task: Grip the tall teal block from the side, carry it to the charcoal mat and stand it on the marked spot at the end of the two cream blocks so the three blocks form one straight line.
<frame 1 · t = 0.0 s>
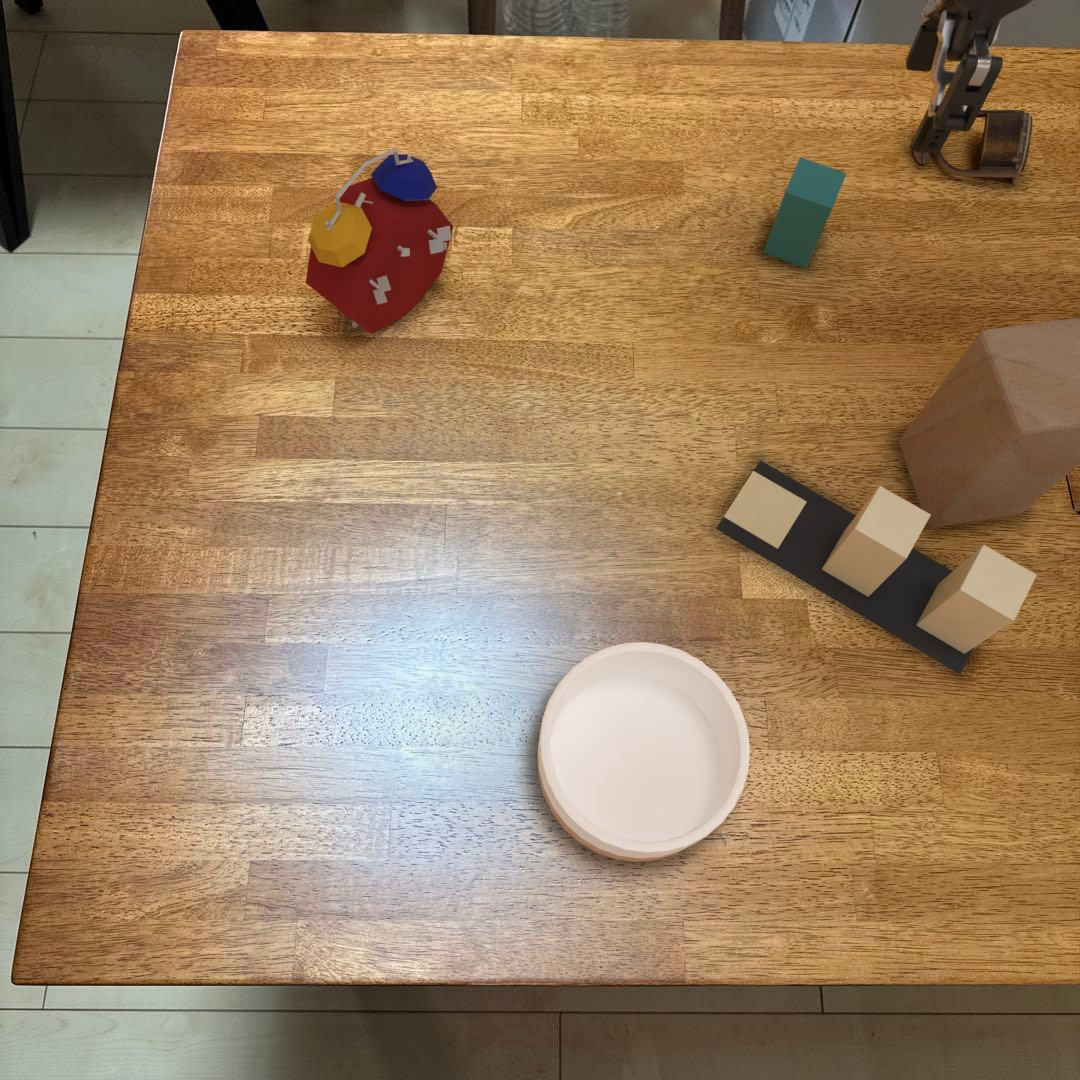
hand: (920, 107, 81), 30 cm above the table, tool pointing down, fingers open, 8 cm apart
teal block: (790, 246, 113), on the table
bowl: (633, 761, 90), on the table
wooden block: (957, 478, 102), on the table
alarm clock: (396, 306, 108), on the table
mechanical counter: (965, 159, 118), on the table
cream block A: (951, 618, 96), resting on mat
mat: (854, 564, 98), on the table
cream block B: (856, 562, 98), resting on mat
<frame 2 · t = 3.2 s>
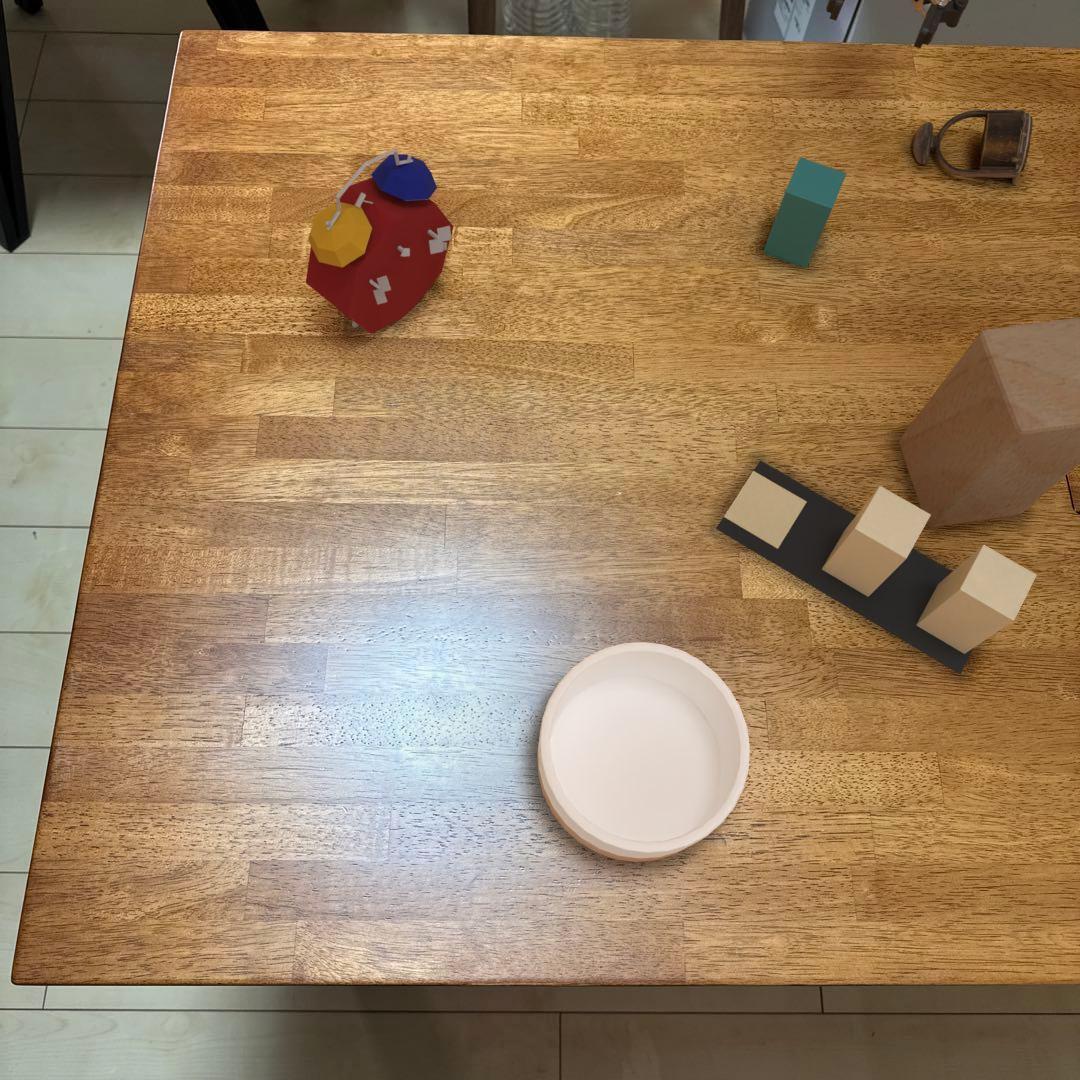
hand: (877, 26, 98), 20 cm above the table, tool horizontal, fingers open, 8 cm apart
nothing on the table moved.
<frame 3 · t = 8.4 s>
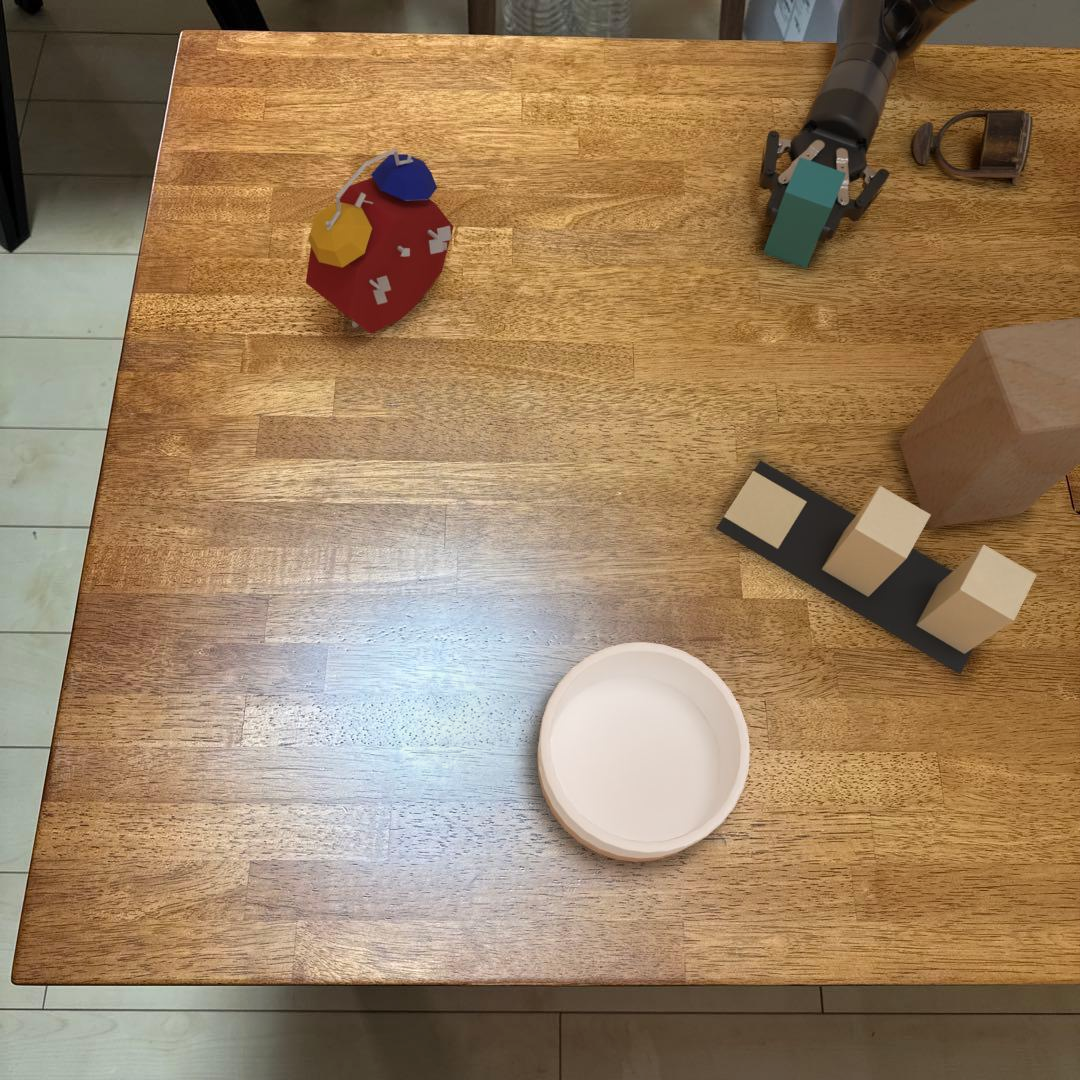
hand: (797, 227, 106), 6 cm above the table, tool horizontal, fingers closed on teal block, 5 cm apart
teal block: (790, 246, 113), on the table, touching gripper
everything else where it was.
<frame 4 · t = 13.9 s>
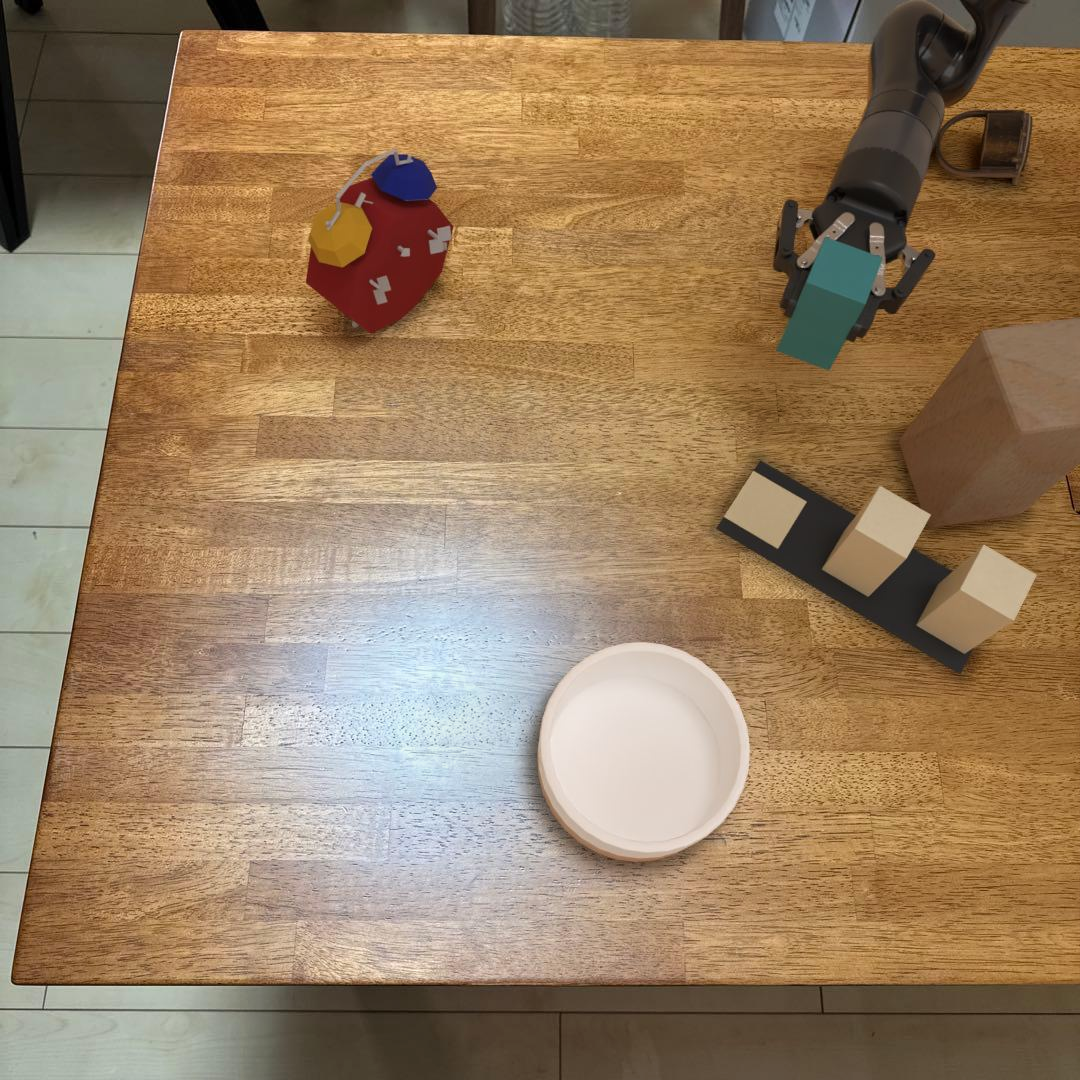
hand: (821, 323, 85), 20 cm above the table, tool horizontal, fingers closed on teal block, 5 cm apart
teal block: (810, 339, 91), point 14 cm above the table, touching gripper
everything else where it was.
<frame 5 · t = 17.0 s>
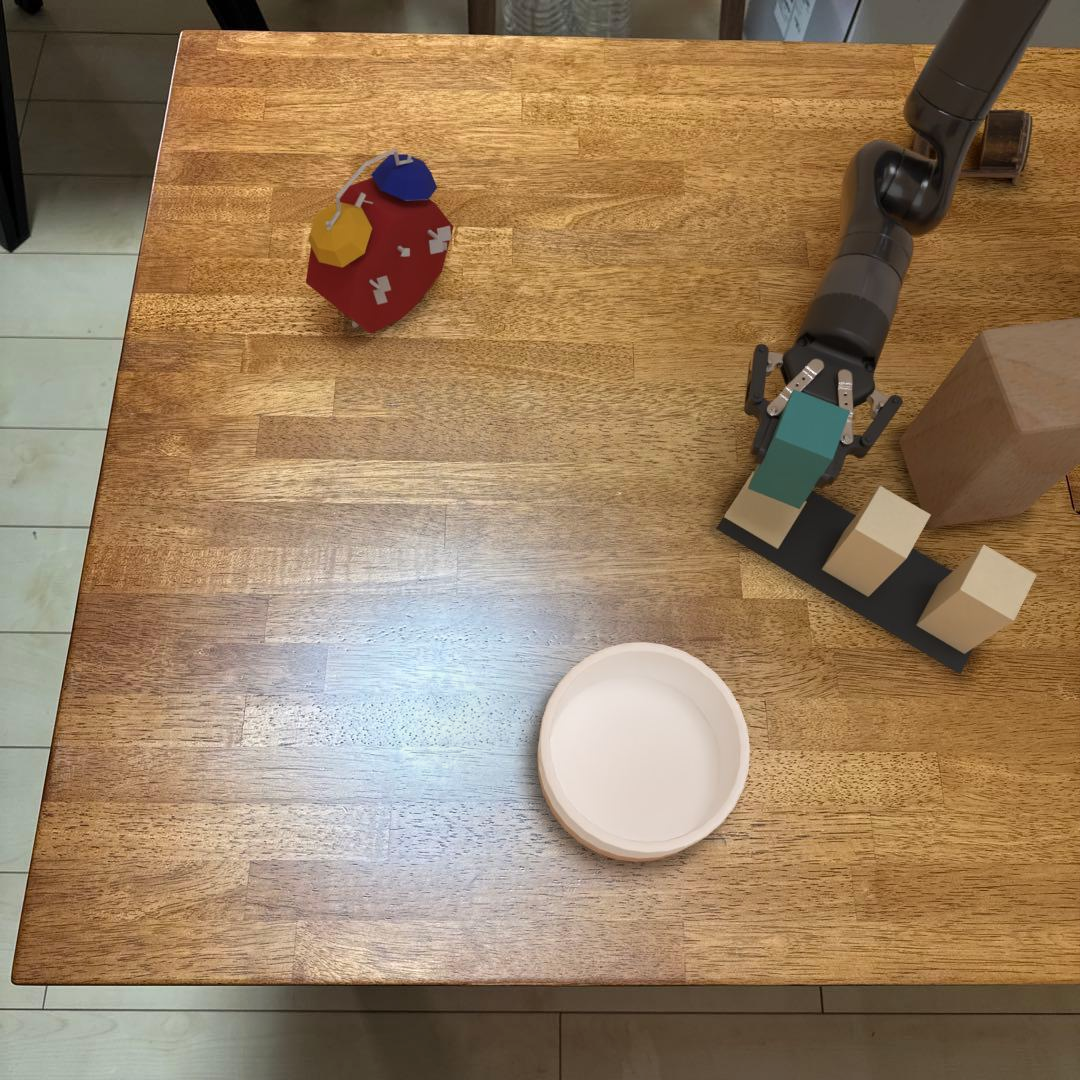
hand: (790, 471, 87), 14 cm above the table, tool horizontal, fingers closed on teal block, 5 cm apart
teal block: (782, 476, 93), point 8 cm above the table, touching gripper
everything else where it was.
when the fingers open (7 cm above the table, at t = 19.4 s): teal block stays where it is, resting on mat.
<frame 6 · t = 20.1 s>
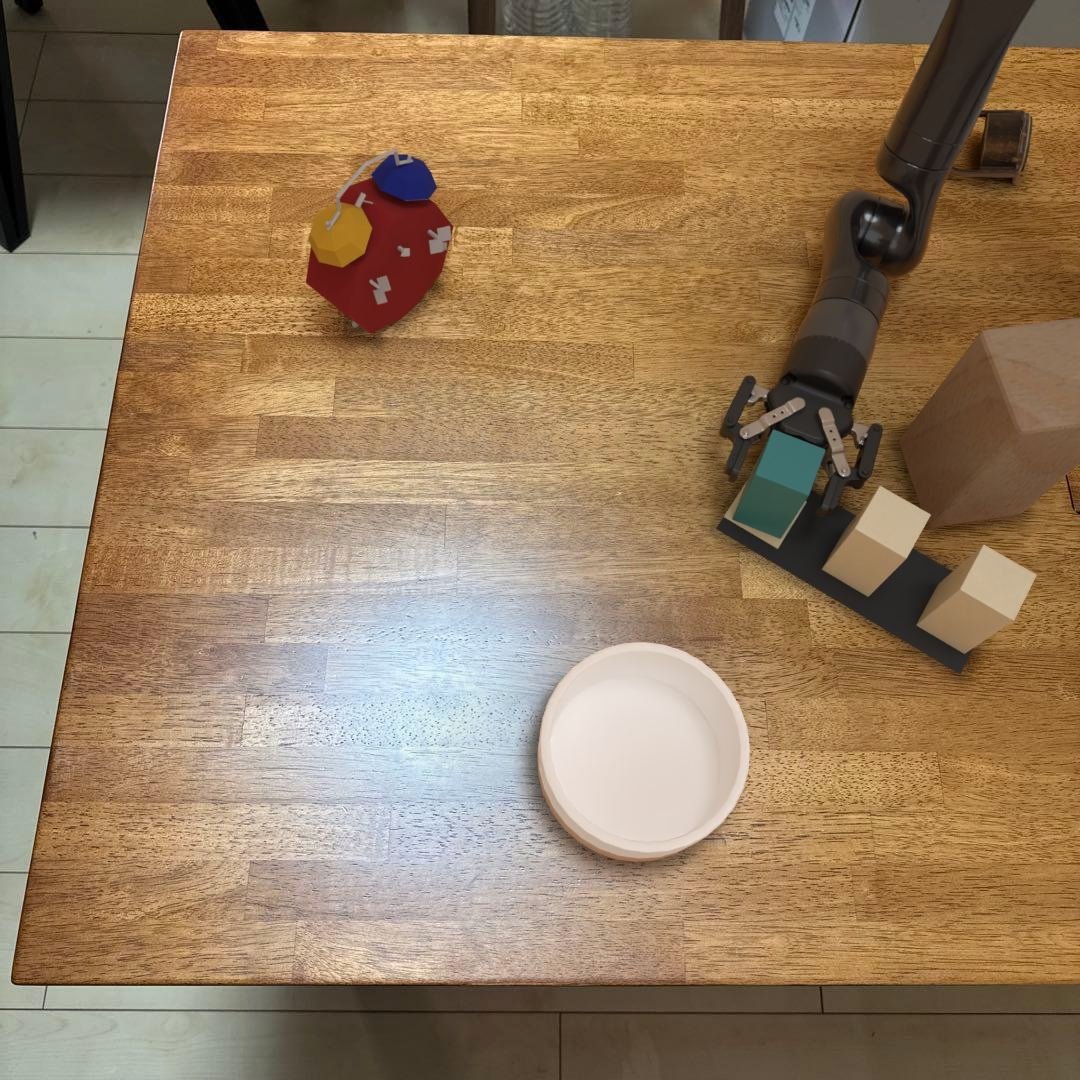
hand: (776, 496, 93), 7 cm above the table, tool horizontal, fingers open, 8 cm apart
teal block: (764, 508, 100), point 1 cm above the table, touching mat
everything else where it was.
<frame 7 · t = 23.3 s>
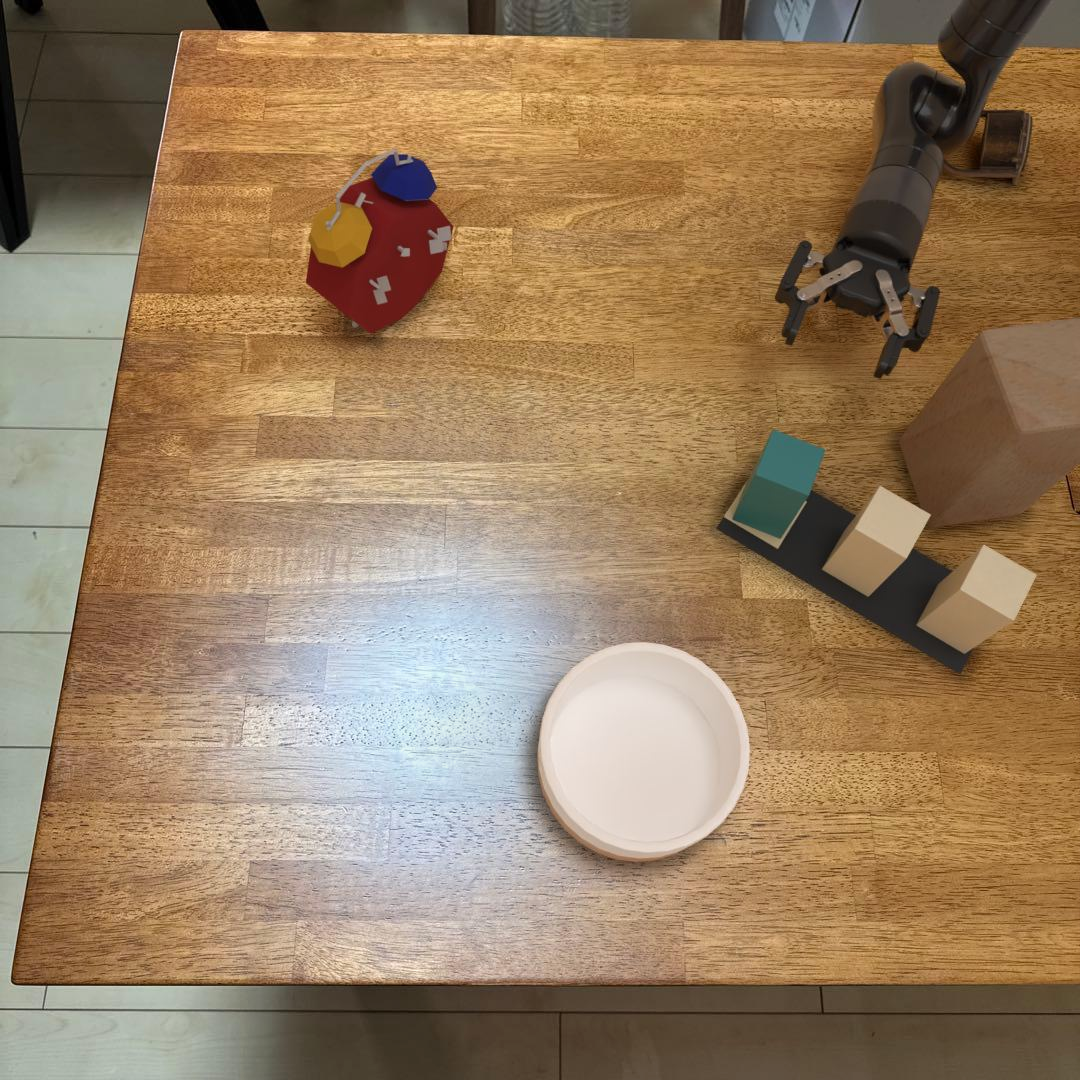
hand: (834, 356, 93), 12 cm above the table, tool horizontal, fingers open, 8 cm apart
nothing on the table moved.
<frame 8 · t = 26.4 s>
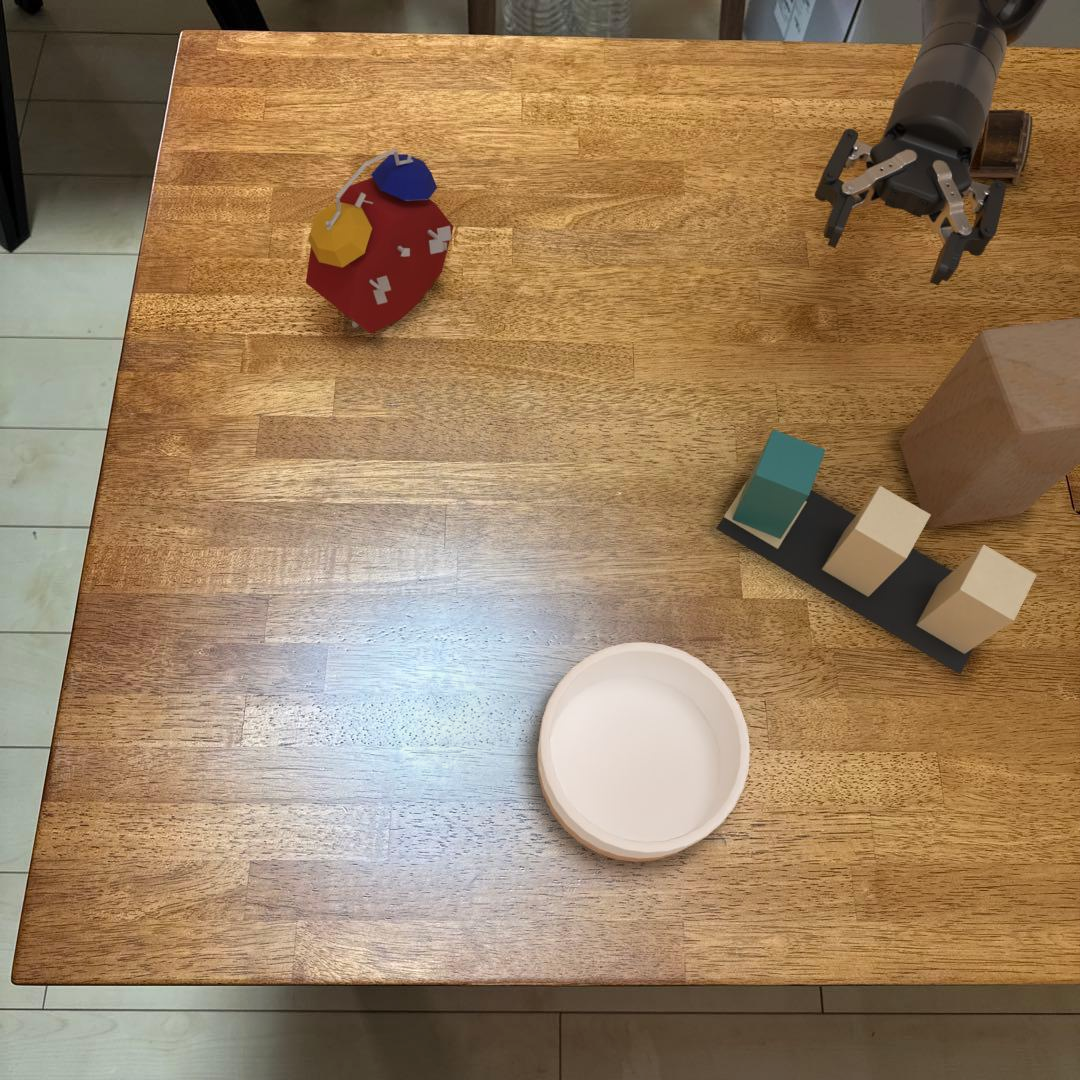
hand: (886, 259, 80), 26 cm above the table, tool horizontal, fingers open, 8 cm apart
nothing on the table moved.
at the end: teal block 0.1 cm from the target spot on the mat, point 0.6 cm above the mat's base; teal block tilted 0°; bowl moved 0.2 cm from its start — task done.
